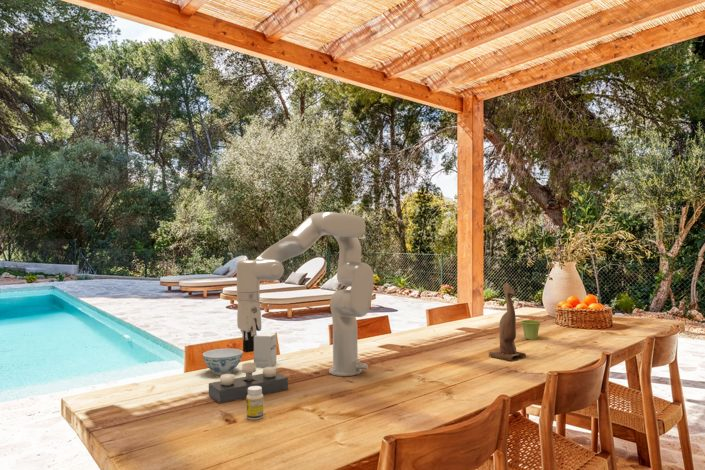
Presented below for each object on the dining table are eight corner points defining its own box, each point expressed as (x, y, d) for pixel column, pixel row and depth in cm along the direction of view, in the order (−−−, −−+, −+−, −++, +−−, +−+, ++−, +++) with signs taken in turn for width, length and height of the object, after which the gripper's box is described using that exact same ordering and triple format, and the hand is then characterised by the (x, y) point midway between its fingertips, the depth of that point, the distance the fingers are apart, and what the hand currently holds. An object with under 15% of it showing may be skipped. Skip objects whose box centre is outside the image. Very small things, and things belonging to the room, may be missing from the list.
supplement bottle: (247, 414, 142) (247, 385, 142) (264, 413, 142) (264, 385, 142) (245, 420, 137) (245, 390, 137) (262, 419, 137) (262, 390, 137)
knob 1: (231, 390, 161) (231, 373, 161) (236, 393, 158) (236, 375, 158) (218, 392, 159) (218, 375, 159) (223, 395, 155) (223, 378, 155)
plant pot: (543, 340, 242) (543, 323, 242) (524, 340, 242) (524, 323, 242) (536, 336, 251) (536, 320, 252) (518, 336, 252) (518, 320, 252)
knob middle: (252, 378, 166) (252, 361, 166) (257, 381, 162) (257, 364, 162) (240, 380, 163) (240, 363, 163) (245, 383, 160) (245, 366, 160)
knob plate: (274, 382, 174) (274, 371, 174) (288, 389, 165) (287, 377, 165) (208, 395, 160) (208, 383, 160) (219, 403, 152) (219, 390, 152)
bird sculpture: (512, 363, 200) (514, 285, 200) (487, 357, 208) (489, 282, 208) (526, 358, 207) (528, 283, 207) (502, 353, 216) (503, 281, 216)
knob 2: (272, 382, 170) (272, 366, 170) (278, 385, 166) (278, 368, 166) (260, 384, 167) (260, 368, 168) (266, 387, 164) (266, 370, 164)
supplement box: (270, 368, 194) (270, 336, 194) (253, 367, 196) (253, 335, 196) (277, 363, 201) (276, 332, 202) (260, 362, 203) (260, 332, 203)
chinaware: (230, 365, 198) (230, 346, 198) (250, 372, 188) (250, 352, 188) (195, 372, 188) (195, 352, 188) (215, 380, 177) (214, 359, 177)
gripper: (268, 298, 159) (268, 354, 159) (249, 294, 171) (249, 346, 171) (246, 299, 155) (246, 357, 154) (229, 295, 167) (229, 349, 167)
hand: (248, 351), depth 163 cm, fingers closed
